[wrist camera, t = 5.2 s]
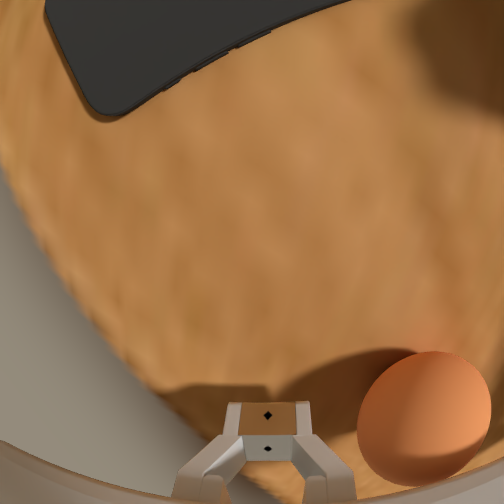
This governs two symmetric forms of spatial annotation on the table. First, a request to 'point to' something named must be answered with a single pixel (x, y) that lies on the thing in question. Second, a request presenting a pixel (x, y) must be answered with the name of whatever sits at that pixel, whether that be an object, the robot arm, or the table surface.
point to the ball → (424, 419)
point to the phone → (157, 41)
